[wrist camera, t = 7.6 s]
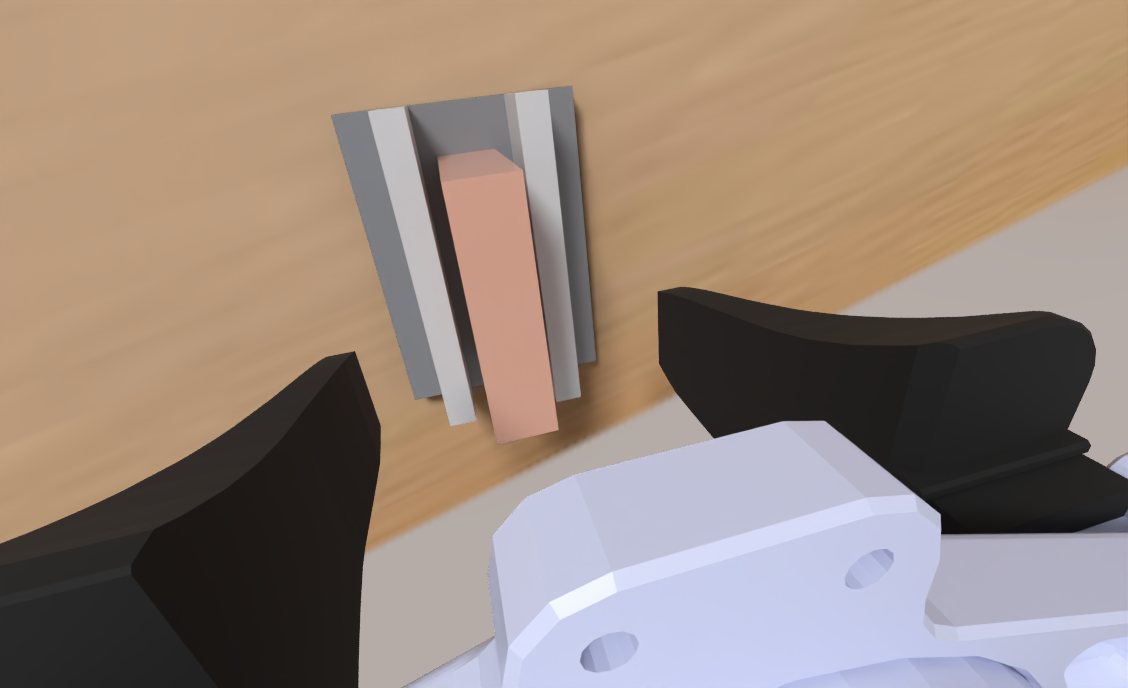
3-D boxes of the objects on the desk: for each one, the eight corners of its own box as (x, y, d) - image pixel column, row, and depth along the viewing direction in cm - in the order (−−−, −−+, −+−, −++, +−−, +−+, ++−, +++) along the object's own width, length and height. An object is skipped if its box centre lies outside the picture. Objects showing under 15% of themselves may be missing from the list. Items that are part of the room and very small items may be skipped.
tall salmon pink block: (480, 357, 21) (496, 444, 16) (437, 156, 17) (440, 182, 12) (526, 348, 21) (558, 430, 16) (494, 148, 17) (522, 169, 12)
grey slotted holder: (415, 388, 22) (413, 434, 19) (335, 114, 17) (315, 117, 14) (589, 350, 23) (614, 389, 20) (565, 86, 18) (592, 83, 15)
